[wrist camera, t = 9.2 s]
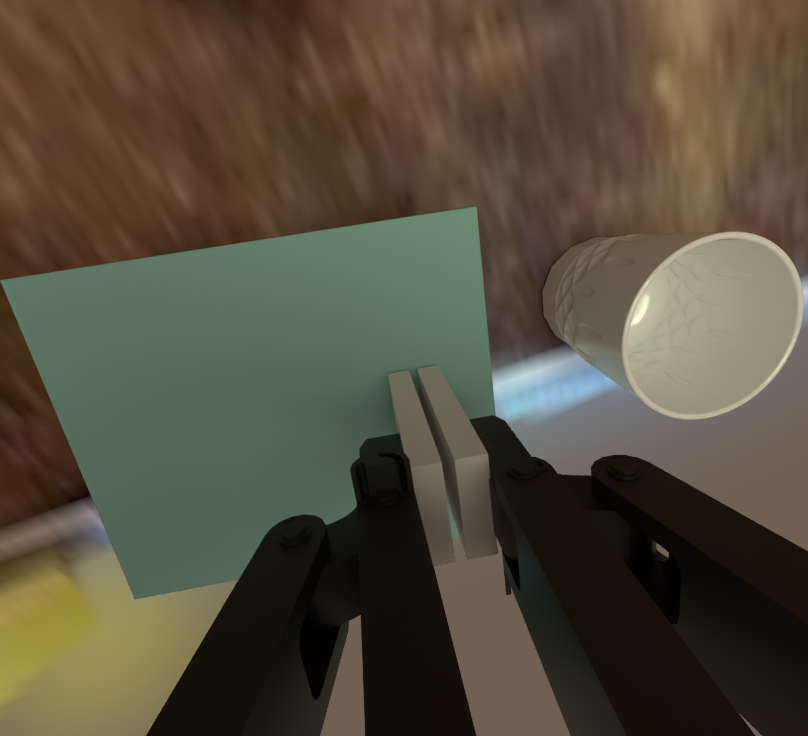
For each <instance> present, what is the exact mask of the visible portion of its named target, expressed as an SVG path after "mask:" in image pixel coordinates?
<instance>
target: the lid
mask: <svg viewBox="0 0 808 736" xmlns="http://www.w3.org/2000/svg"><path fill="white" fill-rule="evenodd" d="M0 281H1V284H2V286H3V288H4V291H5V293H6V296H7V298H8V300H9V303H10V305H11V307H12V310H13V312H14V315H15V317H16V319H17V322H18V324H19V326H20V329H21V331H22V333H23V336H24V338H25V341H26V343H27V345H28V348H29V350H30V352H31V355H32V357H33V359H34V362H35V364H36V367H37V369H38V371H39V374H40V376H41V378H42V381H43V383H44V385H45V388H46V390H47V393H48V395H49V397H50V400H51V402H52V404H53V407H54V409H55V411H56V414H57V416H58V419H59V421H60V423H61V426H62V428H63V430H64V433H65V435H66V437H67V440H68V442H69V445H70V447H71V449H72V452H73V454H74V456H75V459H76V461H77V464H78V466H79V468H80V471H81V473H82V475H83V478H84V480H85V482H86V485H87V487H88V490H89V492H90V494H91V497H92V499H93V501H94V504H95V506H96V508H97V511H98V513H99V516H100V518H101V520H102V523H103V525H104V527H105V530H106V532H107V534H108V537H109V539H110V542H111V544H112V546H113V549H114V551H115V553H116V556H117V558H118V560H119V563H120V565H121V568H122V570H123V572H124V574H125V577H126V579H127V582H128V584H129V586H130V589H131V591H132V594H133V596H134V598H135V599H138V598H144V597H149V596H154V595H159V594H165V593H170V592H175V591H181V590H185V589H190V588H196V587H202V586H207V585H212V584H217V583H222V582H228V581H232V580H238V579H239V578H240V577H241V575H242V573H243V572H244V570H245V568H246V567H247V565H248V563H249V561H250V560H251V558H252V556H253V555H254V553H255V551H256V550H257V548H258V546H259V545H260V543H261V541H262V540H263V538H264V536H265V535H266V534H267V532H268V531H269V530H270V529H271V528H272V527H273V526H275V525H276V524H278V523H279V522H281V521H283V520H285V519H287V518H289V517H293V516H298V515H303V514H307V515H315V516H318V517H320V518H322V519H323V521H324V523H325V524H326V525H328V524H330V523H333V522H335V521H337V520H339V519H341V518H343V517H345V516H347V515H348V514H349V513H351V512H352V511H353V510H354V509H355V508H356V507H357V502H356V497H355V492H354V488H353V483H352V478H351V473H350V469H351V466H352V464H353V463H354V462H355V461H356V460H357V459H358V458H360V453H359V448H360V447H361V446H362V444H363V443H364V441H365V440H366V439H369V438H375V437H380V436H386V435H392V434H397V433H398V432H397V426H396V420H395V414H394V408H393V402H392V396H391V390H390V384H389V378H388V374H389V373H395V372H401V371H406V370H409V372H410V375H411V377H412V380H413V383H414V386H415V389H416V391H417V394H418V397H419V400H420V403H421V406H422V400H421V393H420V386H419V379H418V372H417V369H418V368H424V367H430V366H435V365H438V366H439V368H440V369H441V371H442V373H443V375H444V377H445V378H446V380H447V382H448V384H449V385H450V387H451V389H452V391H453V393H454V394H455V396H456V398H457V400H458V401H459V403H460V405H461V407H462V408H463V410H464V412H465V414H466V416H467V417H468V419H474V418H480V417H485V416H491V415H494V416H495V405H494V394H493V383H492V372H491V361H490V350H489V339H488V328H487V317H486V306H485V295H484V284H483V273H482V262H481V251H480V240H479V229H478V218H477V207H463V208H455V209H449V210H442V211H439V212H434V213H427V214H421V215H415V216H408V217H402V218H395V219H389V220H382V221H376V222H370V223H363V224H357V225H350V226H344V227H337V228H331V229H325V230H318V231H312V232H305V233H299V234H292V235H286V236H280V237H273V238H267V239H260V240H254V241H247V242H241V243H235V244H228V245H222V246H215V247H209V248H202V249H196V250H190V251H183V252H177V253H170V254H164V255H157V256H151V257H145V258H138V259H132V260H125V261H119V262H112V263H106V264H100V265H93V266H87V267H80V268H74V269H67V270H61V271H55V272H48V273H42V274H35V275H29V276H22V277H17V278H11V279H6V280H0ZM422 408H423V406H422ZM447 505H448V512H449V519H450V527H451V534H452V539H453V538H459V537H460V536H459V533H458V530H457V527H456V524H455V521H454V518H453V515H452V512H451V509H450V506H449V503H448V500H447Z"/></svg>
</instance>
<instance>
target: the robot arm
mask: <svg viewBox="0 0 808 736" xmlns="http://www.w3.org/2000/svg"><path fill="white" fill-rule="evenodd" d="M417 372H418V379H419V386H420V393H421V400H422V406H423V408H422V406H421V403H420V400H419V397H418V394H417V391H416V389H415V386H414V383H413V380H412V377H411V375H410V372H409V370H406V371H401V372H395V373H389V374H388V378H389V384H390V390H391V396H392V402H393V408H394V414H395V420H396V426H397V432H398V433H397V434H392V435H386V436H380V437H375V438H369V439H366V440H365V441H364V443H363V444H362V446H361V447H360V448H359V453H360V458H358V459H357V460H356V461H355V462H354V463H353V464H352V466H351V469H350V473H351V478H352V483H353V488H354V492H355V497H356V502H357V507H356V508H355V509H354V510H353V511H352V512H351V513H349V514H348V515H347V516H345V517H343V518H341V519H339V520H337V521H335V522H333V523H330V524H328V525H326V524H325V523H324V521H323V519H322V518H320V517H318V516H315V515H307V514H303V515H298V516H293V517H289V518H287V519H285V520H283V521H281V522H279V523H278V524H276V525H275V526H273V527H272V528H271V529H270V530H269V531H268V532H267V534H266V535H265V536H264V538H263V540H262V541H261V543H260V545H259V546H258V548H257V550H256V551H255V553H254V555H253V556H252V558H251V560H250V561H249V563H248V565H247V567H246V568H245V570H244V572H243V573H242V575H241V577H240V578H239V580H238V582H237V583H236V585H235V587H234V589H233V590H232V592H231V594H230V595H229V597H228V599H227V600H226V602H225V604H224V605H223V607H222V609H221V610H220V612H219V614H218V615H217V617H216V619H215V620H214V622H213V624H212V626H211V627H210V629H209V631H208V632H207V634H206V636H205V638H204V639H203V641H202V642H201V644H200V646H199V647H198V649H197V651H196V653H195V654H194V656H193V658H192V659H191V661H190V663H189V664H188V666H187V668H186V669H185V671H184V673H183V674H182V676H181V678H180V680H179V681H178V683H177V685H176V686H175V688H174V690H173V691H172V693H171V695H170V696H169V698H168V700H167V702H166V703H165V705H164V706H163V708H162V710H161V712H160V713H159V715H158V717H157V718H156V720H155V722H154V723H153V725H152V727H151V728H150V730H149V732H148V734H147V735H146V736H320V734H321V730H322V726H323V723H324V719H325V715H326V712H327V708H328V704H329V700H330V697H331V693H332V689H333V686H334V682H335V678H336V674H337V670H338V667H339V663H340V659H341V656H342V652H343V648H344V645H345V641H346V637H347V633H348V626H349V620H351V619H353V618H355V617H357V616H359V615H361V630H362V658H363V686H364V712H365V736H476V733H475V729H474V725H473V722H472V718H471V713H470V709H469V705H468V701H467V698H466V694H465V690H464V686H463V682H462V678H461V674H460V670H459V666H458V662H457V658H456V654H455V650H454V646H453V642H452V638H451V635H450V630H449V626H448V622H447V618H446V614H445V610H444V607H443V602H442V599H441V594H440V590H439V587H438V582H437V578H436V574H435V571H434V566H437V565H442V564H448V563H453V562H455V556H454V549H453V542H452V534H451V527H450V519H449V512H448V505H447V500H448V503H449V506H450V509H451V512H452V515H453V518H454V521H455V524H456V527H457V530H458V533H459V536H460V539H461V542H462V546H463V549H464V552H465V555H466V558H467V559H473V558H478V557H484V556H489V555H494V554H498V549H497V539H498V541H499V543H500V546H501V547H502V554H503V565H504V576H505V586H506V595H509V594H511V588H512V590H513V593H514V595H515V597H516V600H517V603H518V605H519V608H520V610H521V612H522V615H523V618H524V620H525V622H526V625H527V628H528V630H529V633H530V635H531V638H532V640H533V643H534V645H535V647H536V650H537V653H538V655H539V658H540V660H541V663H542V665H543V668H544V670H545V673H546V675H547V678H548V680H549V683H550V685H551V688H552V690H553V693H554V695H555V697H556V700H557V703H558V705H559V708H560V710H561V713H562V715H563V718H564V720H565V723H566V725H567V728H568V730H569V733H570V735H571V736H755V735H754V733H753V732H752V731H751V729H750V728H749V727H748V725H747V724H746V723H745V721H744V720H743V719H742V717H741V716H740V715H739V713H740V714H741V715H742V716H743V717H744V718H745V719H746V720H747V721H748V722H749V723H750V724H751V725H752V726H753V727H754V728H755V729H756V730H757V731H758V732H759V733H760V734H761V735H762V736H808V551H806V550H804V549H803V548H801V547H799V546H797V545H795V544H794V543H792V542H790V541H788V540H787V539H785V538H783V537H781V536H779V535H778V534H776V533H774V532H772V531H771V530H769V529H767V528H765V527H763V526H762V525H760V524H758V523H756V522H754V521H753V520H751V519H749V518H747V517H746V516H744V515H742V514H740V513H738V512H737V511H735V510H733V509H731V508H730V507H728V506H726V505H724V504H722V503H721V502H719V501H717V500H715V499H713V498H712V497H710V496H708V495H706V494H705V493H703V492H701V491H699V490H697V489H695V488H694V487H692V486H690V485H689V484H687V483H685V482H683V481H681V480H680V479H678V478H676V477H674V476H672V475H671V474H669V473H667V472H665V471H664V470H662V469H660V468H658V467H656V466H655V465H653V464H651V463H649V462H647V461H645V460H642V459H640V458H637V457H631V456H627V455H612V456H607V457H602V458H600V459H599V460H597V461H595V462H594V464H593V465H592V467H591V476H580V475H579V476H578V475H576V476H575V475H561V474H557V472H556V471H555V470H554V468H553V467H552V466H551V465H550V464H549V463H548V462H546V461H544V460H542V459H539V458H537V457H531V455H530V454H529V453H528V451H527V450H526V449H525V447H524V446H523V445H522V443H521V442H520V441H519V439H518V438H516V435H515V434H514V432H513V431H511V428H510V427H509V426H508V424H507V423H506V422H505V421H504V420H502V419H500V418H498V417H496V416H494V415H491V416H485V417H480V418H474V419H468V417H467V416H466V414H465V412H464V410H463V408H462V407H461V405H460V403H459V401H458V400H457V398H456V396H455V394H454V393H453V391H452V389H451V387H450V385H449V384H448V382H447V380H446V378H445V377H444V375H443V373H442V371H441V369H440V368H439V366H438V365H435V366H430V367H424V368H418V369H417ZM496 537H497V539H496ZM656 543H658V544H659V545H661V546H662V547H663V548H664V549H666V550H667V551H668V552H669V557H668V558H667V557H666V556H664V555H663V554H661V553H660V552H658V551H657V550H656Z"/></svg>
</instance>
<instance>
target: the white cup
mask: <svg viewBox="0 0 808 736" xmlns="http://www.w3.org/2000/svg"><path fill="white" fill-rule="evenodd" d="M542 297H543V315H544V317H545V319H546V321H547V322H548V324H549V326H550V328H551V329H552V331H553V333H554V334H555V336H557V337H558V338H560V339H561V340H562V341H564V342H565V343H567V344H568V345H570V346H571V347H572V348H573V349H574V350H575V351H576V352H577V353H578V354H579V355H580V356H581V357H583V358H584V359H585V360H586V361H588V362H589V363H590V364H592V365H593V366H594V367H595V368H597V369H598V370H599V371H600V372H602V373H603V374H604V375H606V376H607V377H609V378H610V379H612V380H613V381H614V382H616V383H617V384H619V385H620V386H621V387H623V388H624V389H626V390H627V391H628V392H630V393H631V394H633V395H634V396H635V397H637V398H638V399H639V400H641V401H642V402H644V403H645V404H646V405H648V406H649V407H651V408H652V409H654V410H655V411H657V412H659V413H661V414H664V415H666V416H670V417H674V418H679V419H703V418H709V417H713V416H717V415H720V414H723V413H726V412H728V411H731V410H733V409H735V408H736V407H738V406H740V405H742V404H744V403H745V402H747V401H748V400H750V399H751V398H753V397H754V396H755V395H756V394H758V393H759V392H760V391H761V390H762V389H764V387H766V386H767V385H768V384H769V383H770V382H771V381H772V379H773V378H774V377H775V376H776V375H777V373H778V372H779V371H780V369H781V368H782V367H783V365H784V363H785V362H786V360H787V359H788V357H789V355H790V353H791V351H792V349H793V347H794V345H795V343H796V340H797V337H798V334H799V331H800V327H801V323H802V317H803V306H804V301H803V290H802V285H801V281H800V277H799V275H798V272H797V270H796V268H795V266H794V264H793V262H792V261H791V259H790V258H789V257H788V255H787V254H786V253H785V252H784V251H783V250H782V249H781V248H780V247H778V246H777V245H776V244H774V243H773V242H771V241H769V240H768V239H766V238H763V237H761V236H758V235H755V234H751V233H745V232H694V233H652V234H634V235H624V236H619V237H594V238H591V239H589V240H586V241H584V242H582V243H579V244H577V245H574V246H572V247H570V248H569V249H568V250H567V251H566V252H565V253H564V254H563V255H562V256H561V257H560V258H559V259H558V260H557V261H556V262H555V264H554V265H553V266H552V267H551V269H550V272H549V275H548V277H547V280H546V282H545V285H544V288H543V290H542Z"/></svg>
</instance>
